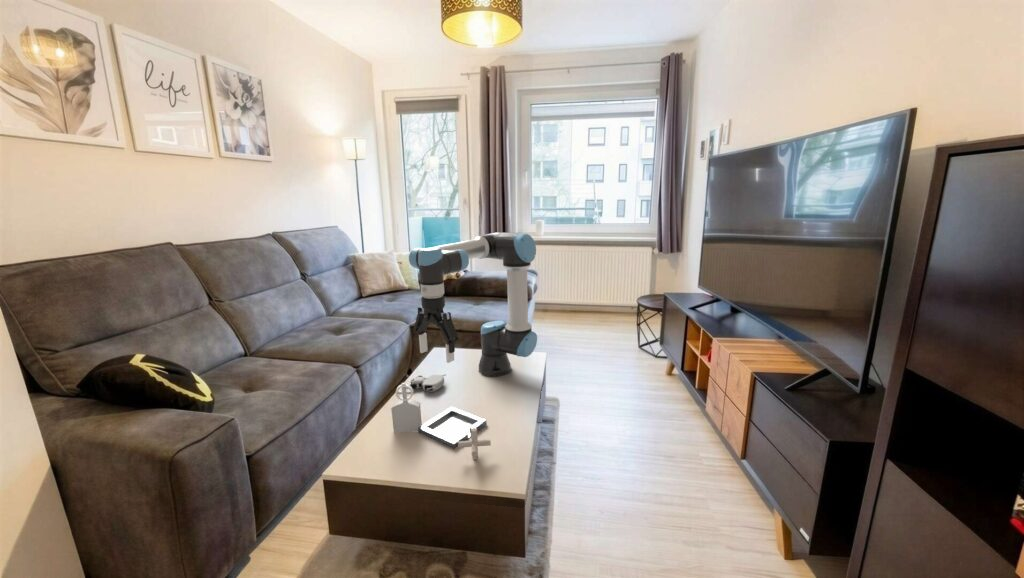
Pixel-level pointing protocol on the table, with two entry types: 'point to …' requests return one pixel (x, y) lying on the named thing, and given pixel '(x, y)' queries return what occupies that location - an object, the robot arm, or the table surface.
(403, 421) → the gravestone
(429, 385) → the robot toy
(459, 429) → the square metal tray
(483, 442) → the pipe connector
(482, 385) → the table surface
